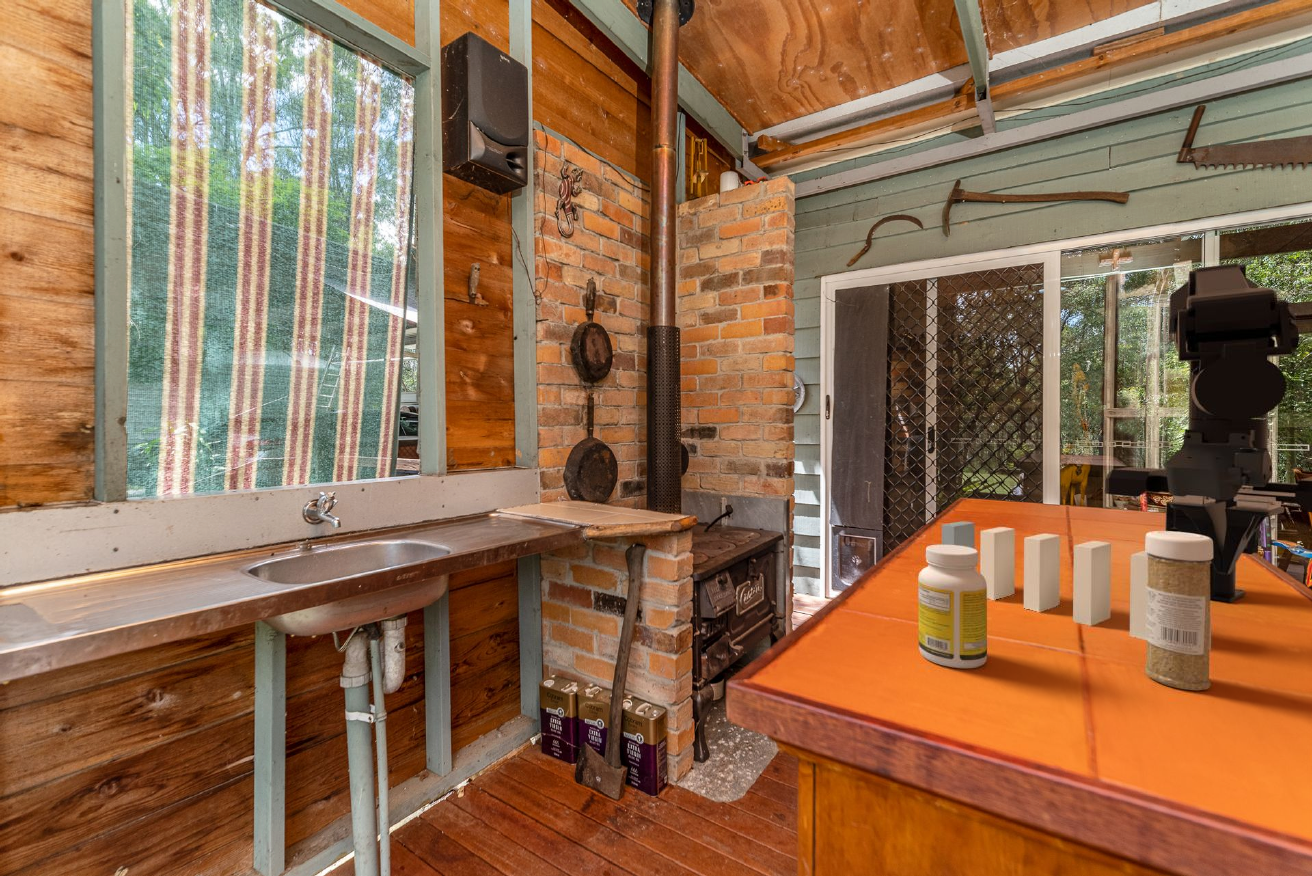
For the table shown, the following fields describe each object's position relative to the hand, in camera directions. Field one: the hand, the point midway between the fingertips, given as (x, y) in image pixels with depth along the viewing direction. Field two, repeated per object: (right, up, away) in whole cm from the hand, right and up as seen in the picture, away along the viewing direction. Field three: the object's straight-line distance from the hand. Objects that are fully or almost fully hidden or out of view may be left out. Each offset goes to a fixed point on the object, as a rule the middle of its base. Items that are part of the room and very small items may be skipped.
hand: (1223, 573), depth 59 cm
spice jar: (-10, -9, -6) cm, 15 cm away
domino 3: (-9, -8, +15) cm, 19 cm away
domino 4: (-6, -8, +10) cm, 14 cm away
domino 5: (-3, -8, +5) cm, 10 cm away
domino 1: (-14, -8, +24) cm, 29 cm away
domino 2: (-12, -8, +19) cm, 24 cm away
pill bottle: (-28, -9, 0) cm, 29 cm away
